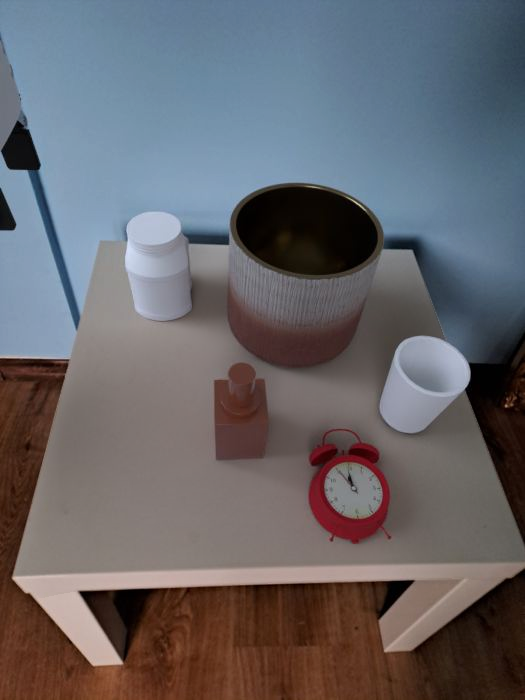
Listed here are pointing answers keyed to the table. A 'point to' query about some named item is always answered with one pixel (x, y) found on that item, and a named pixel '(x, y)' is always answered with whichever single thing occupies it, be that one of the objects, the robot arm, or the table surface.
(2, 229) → the robot arm
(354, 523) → the alarm clock
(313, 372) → the table surface
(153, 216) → the jar
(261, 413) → the brown handled box
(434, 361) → the cup
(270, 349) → the planter
